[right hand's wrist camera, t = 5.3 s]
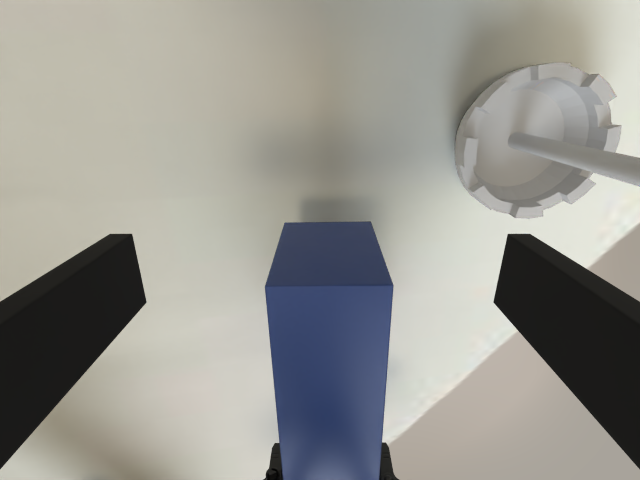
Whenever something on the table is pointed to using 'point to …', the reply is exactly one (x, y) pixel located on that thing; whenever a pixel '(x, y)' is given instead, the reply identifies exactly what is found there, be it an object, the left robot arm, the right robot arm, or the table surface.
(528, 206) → the flag stand
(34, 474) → the table surface
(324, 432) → the box
